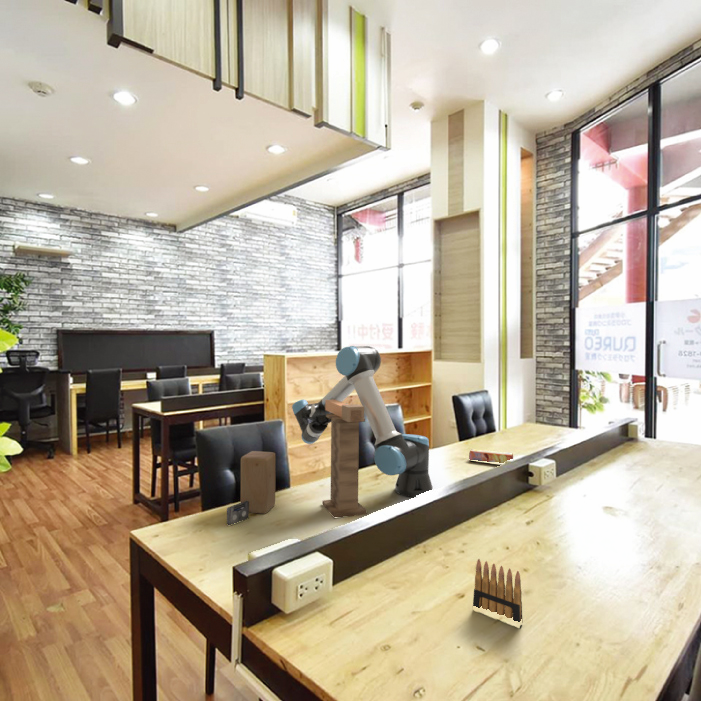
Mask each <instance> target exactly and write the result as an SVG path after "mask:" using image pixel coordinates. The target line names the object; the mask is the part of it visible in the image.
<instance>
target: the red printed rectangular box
mask: <svg viewBox="0 0 701 701" xmlns="http://www.w3.org/2000/svg"><path fill="white" fill-rule="evenodd" d="M470 449H471V450H470V451H469V455H468V460H469V459H470V460H478V461H487V462H499V463H504V462H505V461H507V460H510V459H513V460H514V454H513V453H512V452H504V451H495V450H485V449H474V448H470ZM470 460H469V461H470Z"/></svg>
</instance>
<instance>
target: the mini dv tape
mask: <svg viewBox="0 0 701 701" xmlns="http://www.w3.org/2000/svg"><path fill="white" fill-rule="evenodd" d="M249 514H250V512H249V501H244V502H241V501H240V502H239V503H236V504H234V505H231V506H228V507H227V508H226V525H227V524H228V525H231V524H234V523H236V524H238V523H237V522H239V521H241V522H243V521H246V520H248V519H249V517H250V516H249ZM247 518H248V519H247ZM245 519H246V520H245ZM242 520H243V521H242ZM239 523H240V522H239ZM228 525H227V526H228ZM234 525H235V524H234ZM231 526H232V525H231Z"/></svg>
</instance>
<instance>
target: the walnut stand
mask: <svg viewBox="0 0 701 701" xmlns="http://www.w3.org/2000/svg"><path fill="white" fill-rule="evenodd" d="M326 417H327V418H329V419H331V422H330V423H331V424H330V425H331V426H330V429H331V430H330V499H325V500H324V499H323V500H322V504H323V505H322V504H321V505H322V506H323V507H324V508H325V509H326V510H327V511H328V512H330V513H331V514H332V515H333V516H334V517H341V518H344V517H343V516H348V517H354V515H356V516H362V515H367V514H368V513H367V512H368V511H367V509H366V507H364V506H363V505H362V504H361V503H360V502H359V454H360V452H359V450H360V446H359V443H360V440H359V439H360V438H359V437H360V423H364V422H366V418H364V421H358V422H347V421H345V420H343V419H342V418H341V417H339V416H337V415H335V414H326ZM330 513H329V514H330ZM331 514H330V515H331ZM332 515H331V516H332ZM333 516H332V517H333ZM334 517H333V518H334Z"/></svg>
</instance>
